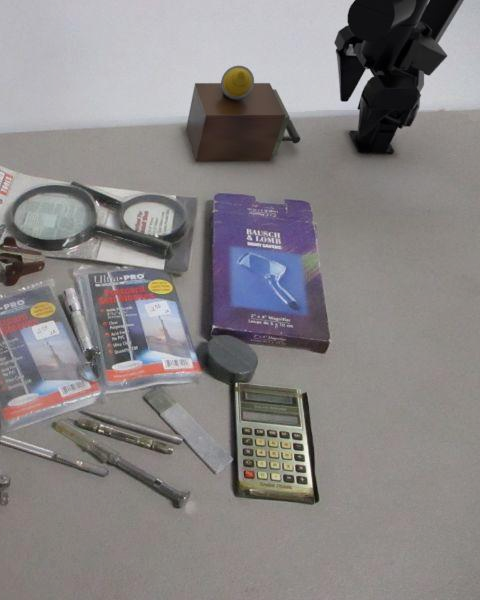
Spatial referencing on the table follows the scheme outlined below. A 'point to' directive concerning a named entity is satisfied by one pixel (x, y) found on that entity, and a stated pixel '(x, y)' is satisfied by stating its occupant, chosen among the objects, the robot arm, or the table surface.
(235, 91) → the yellow tiered knob
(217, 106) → the cabinet
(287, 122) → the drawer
